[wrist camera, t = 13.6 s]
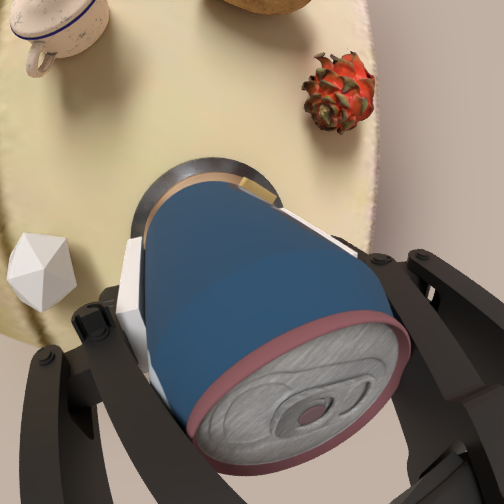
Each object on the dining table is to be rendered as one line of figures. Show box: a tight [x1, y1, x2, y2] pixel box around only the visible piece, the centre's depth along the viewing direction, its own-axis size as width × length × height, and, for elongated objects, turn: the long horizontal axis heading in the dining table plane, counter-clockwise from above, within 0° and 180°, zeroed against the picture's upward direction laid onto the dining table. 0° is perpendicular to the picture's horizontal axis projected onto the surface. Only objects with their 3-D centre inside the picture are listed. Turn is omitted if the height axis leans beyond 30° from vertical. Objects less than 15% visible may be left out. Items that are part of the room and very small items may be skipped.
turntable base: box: [131, 157, 283, 239], centre depth 33 cm, size 19×19×1 cm
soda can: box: [145, 181, 411, 476], centre depth 11 cm, size 7×7×12 cm
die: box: [7, 233, 77, 313], centre depth 24 cm, size 8×9×10 cm
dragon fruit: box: [302, 48, 375, 135], centre depth 28 cm, size 8×8×12 cm
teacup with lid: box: [9, 0, 109, 78], centre depth 13 cm, size 12×9×12 cm
